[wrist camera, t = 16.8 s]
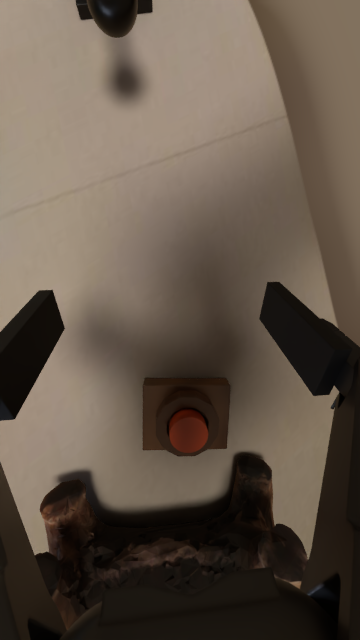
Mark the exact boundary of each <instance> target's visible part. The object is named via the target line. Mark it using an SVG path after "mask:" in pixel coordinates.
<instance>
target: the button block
mask: <svg viewBox="0 0 360 640" xmlns="http://www.w3.org/2000/svg"><path fill="white" fill-rule="evenodd" d="M229 403H230V384H229V383H228V381H227V379H226V378H145V379H144V383H143V450H167V451H169V452H171V453H173V454H175V455H177V456H196V455H198V454H200V453H201V452H203V451H205V450H207V449H226V448H227V436H228V420H229ZM183 409H193V410H196V411H198V412H199V413H201V414H202V416H203V417H204V419H205V422H206V426H207V429H208V439H207V441H206V443H205V445H204V446H203V447H202V448H201V449H199V450H198V451H196V452H192V453H184V452H181V451H178V450H177V449H176V448H175V447H174V446H173V445H172V444H171V441H170V436H169V424H170V420H171V418H172V417H173V415H174V414H175V413H177V412H178V411H180V410H183Z"/></svg>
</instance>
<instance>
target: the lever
mask: <svg viewBox="0 0 360 640" xmlns="http://www.w3.org/2000/svg"><path fill="white" fill-rule="evenodd" d="M87 4H88V8H89V11H90V13H91V15H92V17H93V19H94V21H95V23H96V24H97V25H98V27H99V28H100V29H101V30H102V31H103V32H104V33H106V34H107V35H109V36H111V37H115V38H120V37H123V36H125V35H127V34H128V33H129V32H130V30H131V29H132V27H133V25H134V23H135V20H136V17H137V9H138V0H87Z"/></svg>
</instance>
